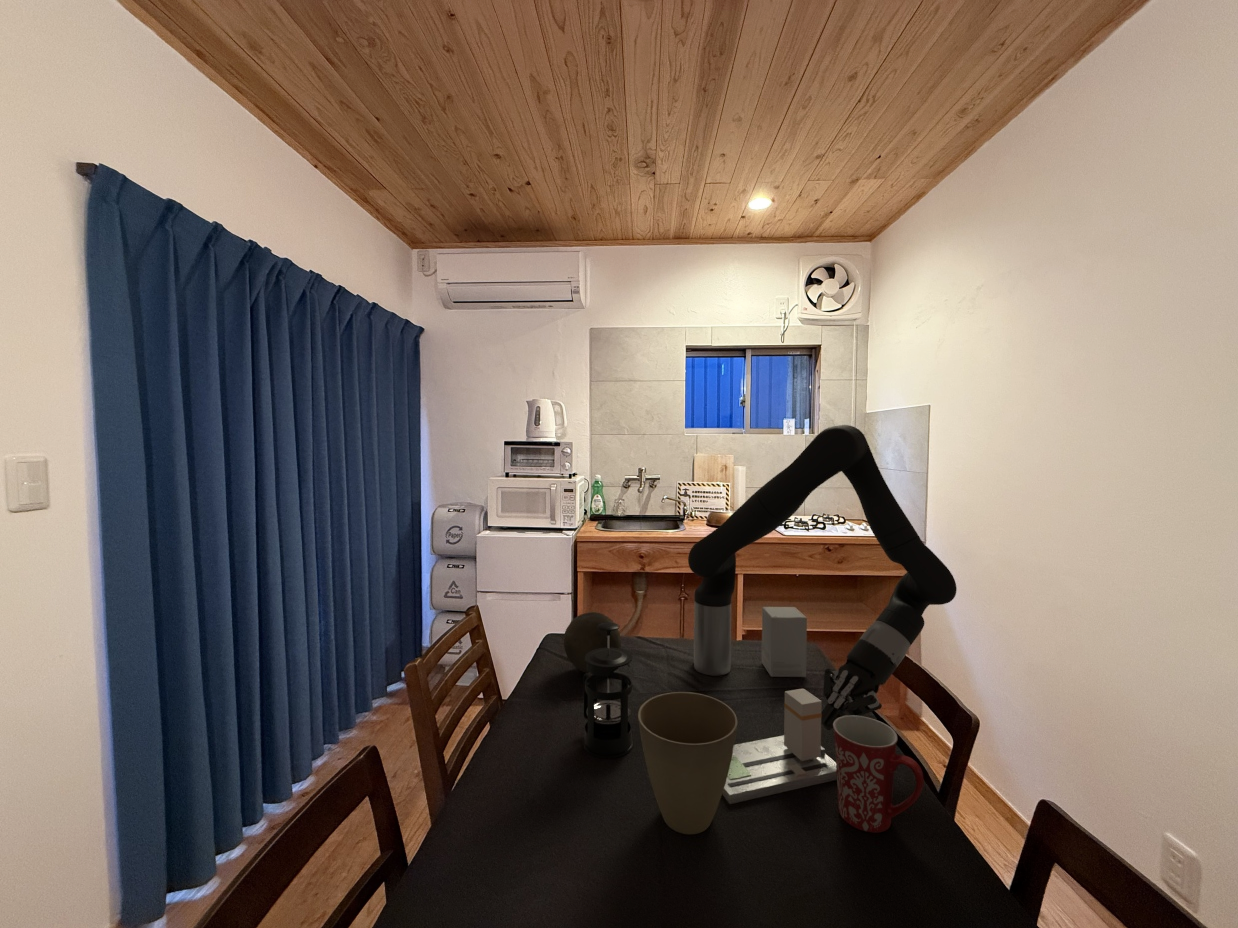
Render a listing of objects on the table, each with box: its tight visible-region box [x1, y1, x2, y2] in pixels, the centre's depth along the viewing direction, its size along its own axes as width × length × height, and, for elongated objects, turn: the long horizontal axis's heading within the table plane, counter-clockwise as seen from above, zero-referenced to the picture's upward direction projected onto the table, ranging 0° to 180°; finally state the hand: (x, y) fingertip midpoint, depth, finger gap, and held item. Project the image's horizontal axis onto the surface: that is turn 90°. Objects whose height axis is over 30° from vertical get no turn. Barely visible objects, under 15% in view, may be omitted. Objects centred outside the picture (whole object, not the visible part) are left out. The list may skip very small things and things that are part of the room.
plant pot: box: [637, 691, 739, 835], centre depth 78 cm, size 15×15×16 cm
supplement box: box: [761, 606, 808, 678], centre depth 131 cm, size 9×9×15 cm
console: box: [722, 734, 837, 805], centre depth 90 cm, size 12×22×2 cm, turn 107°
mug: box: [832, 715, 925, 834], centre depth 77 cm, size 13×9×14 cm
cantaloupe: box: [563, 611, 622, 674], centre depth 128 cm, size 14×14×15 cm
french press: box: [583, 622, 634, 760], centre depth 98 cm, size 12×9×23 cm
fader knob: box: [783, 688, 823, 761], centre depth 92 cm, size 5×4×10 cm
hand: (823, 725), depth 94 cm, fingers closed
